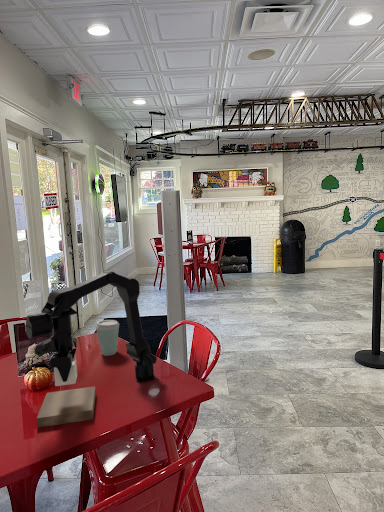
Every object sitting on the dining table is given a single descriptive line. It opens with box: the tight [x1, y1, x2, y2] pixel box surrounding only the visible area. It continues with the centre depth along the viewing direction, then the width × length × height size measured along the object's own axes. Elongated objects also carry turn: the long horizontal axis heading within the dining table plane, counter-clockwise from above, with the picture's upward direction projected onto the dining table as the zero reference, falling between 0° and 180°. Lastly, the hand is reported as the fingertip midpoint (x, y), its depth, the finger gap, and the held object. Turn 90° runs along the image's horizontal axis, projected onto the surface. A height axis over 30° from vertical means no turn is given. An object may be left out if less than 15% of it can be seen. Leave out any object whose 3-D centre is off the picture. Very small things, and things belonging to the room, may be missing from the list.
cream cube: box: [53, 357, 78, 387], centre depth 115 cm, size 6×6×6 cm
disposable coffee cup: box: [94, 319, 120, 357], centre depth 163 cm, size 11×11×15 cm
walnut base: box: [36, 386, 97, 428], centre depth 116 cm, size 16×16×3 cm
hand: (66, 377), depth 115 cm, fingers closed on cream cube, 6 cm apart
